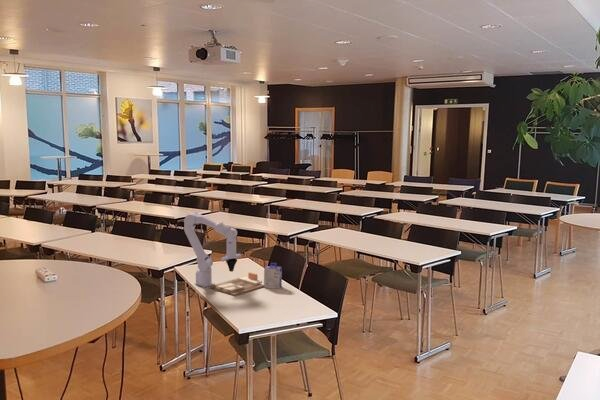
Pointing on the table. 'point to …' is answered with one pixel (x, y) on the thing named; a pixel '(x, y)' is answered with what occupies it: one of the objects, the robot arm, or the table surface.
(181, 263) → the table surface
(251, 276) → the stub
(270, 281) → the ink cartridge box
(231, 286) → the board
